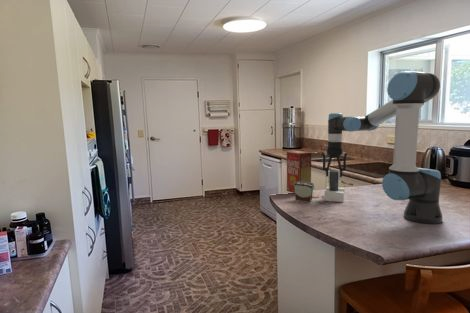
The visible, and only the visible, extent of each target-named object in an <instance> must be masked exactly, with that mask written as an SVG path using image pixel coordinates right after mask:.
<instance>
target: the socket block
mask: <svg viewBox="0 0 470 313" xmlns="http://www.w3.org/2000/svg"><path fill="white" fill-rule="evenodd" d="M345 194H346V188H345V187H339V186H338V191H329V186H326V188H325V190H324V195H323V196H324V199H323V200H324V201H326V202H337V203H344V201H345Z"/></svg>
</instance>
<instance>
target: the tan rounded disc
mask: <svg viewBox="0 0 470 313" xmlns="http://www.w3.org/2000/svg"><path fill="white" fill-rule="evenodd" d="M317 198H320V195H319V194H315V193H312V199H317Z"/></svg>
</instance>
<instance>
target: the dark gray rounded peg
mask: <svg viewBox="0 0 470 313" xmlns="http://www.w3.org/2000/svg"><path fill="white" fill-rule="evenodd" d="M329 171H330V181H329V183H328V187H329V191H338V187H339V183H338V171H339V170H329Z"/></svg>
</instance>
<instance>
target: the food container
mask: <svg viewBox="0 0 470 313" xmlns="http://www.w3.org/2000/svg"><path fill="white" fill-rule="evenodd" d="M293 186H294V189H295V193H294V198H295V200H294V201H298V202H299V201H300V202H304V203H308V204H309V203H310V204H311V203H312V199H313V198H312V194H314V192H313V191H314V189H315V185H314V182H312V181H311V182H302V181H300V182H294V184H293Z"/></svg>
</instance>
